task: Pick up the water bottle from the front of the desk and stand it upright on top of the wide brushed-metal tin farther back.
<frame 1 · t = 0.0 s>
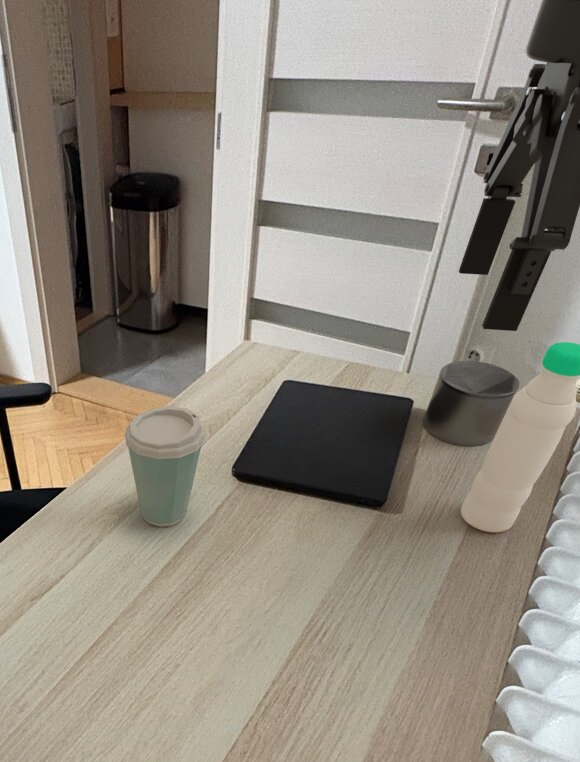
hand: (484, 299, 59), 34 cm above the table, tool pointing down, fingers open, 13 cm apart
water bottle: (484, 519, 89), on the table
disposable coffee cup: (162, 513, 91), on the table
tin: (458, 427, 105), on the table
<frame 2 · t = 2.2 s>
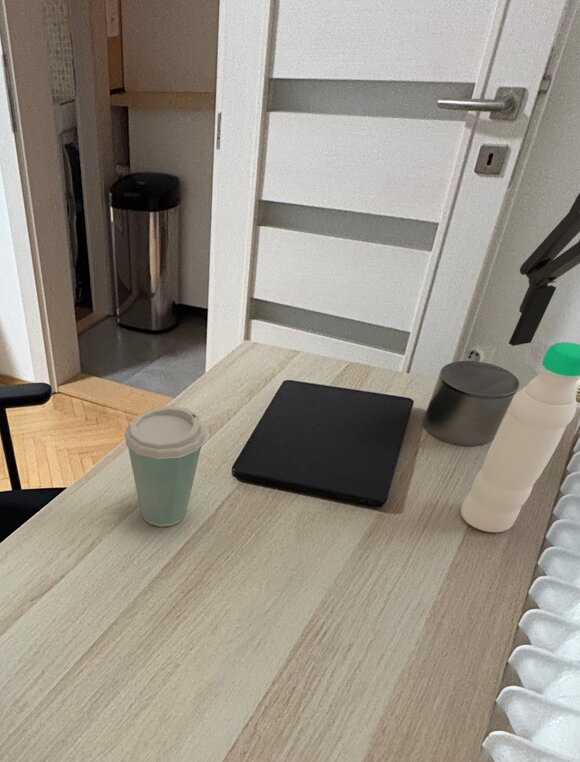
hand: (561, 367, 72), 23 cm above the table, tool pointing down, fingers open, 13 cm apart
nothing on the table moved.
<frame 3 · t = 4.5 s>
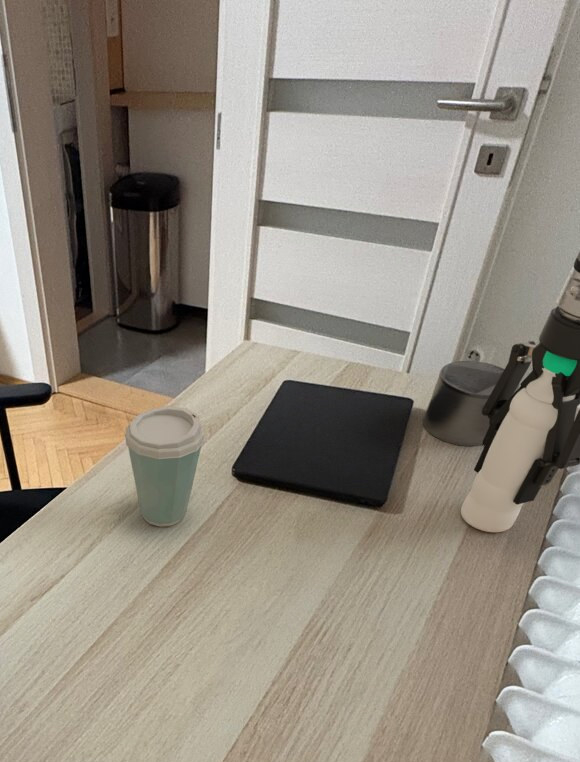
hand: (502, 484, 84), 6 cm above the table, tool pointing down, fingers closed on water bottle, 7 cm apart
water bottle: (484, 519, 89), on the table, touching gripper
everything else where it was.
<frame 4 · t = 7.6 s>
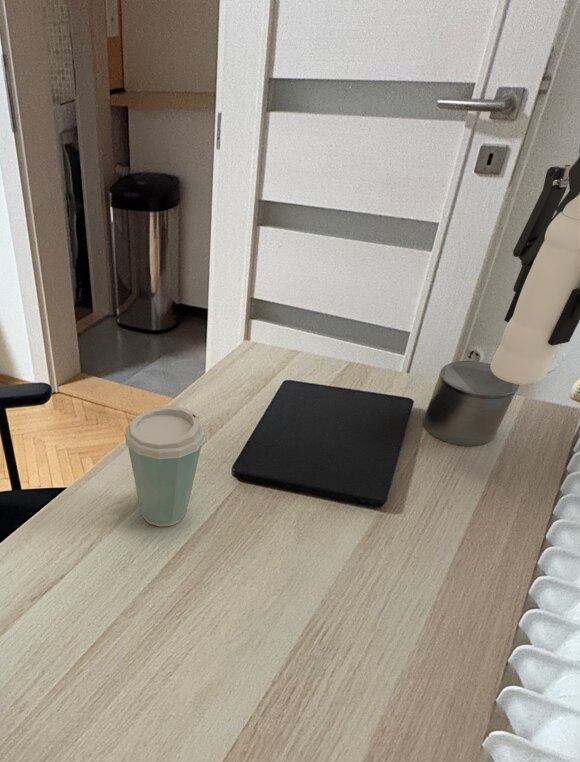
hand: (535, 330, 81), 22 cm above the table, tool pointing down, fingers closed on water bottle, 7 cm apart
water bottle: (515, 375, 86), point 16 cm above the table, touching gripper
everything else where it was.
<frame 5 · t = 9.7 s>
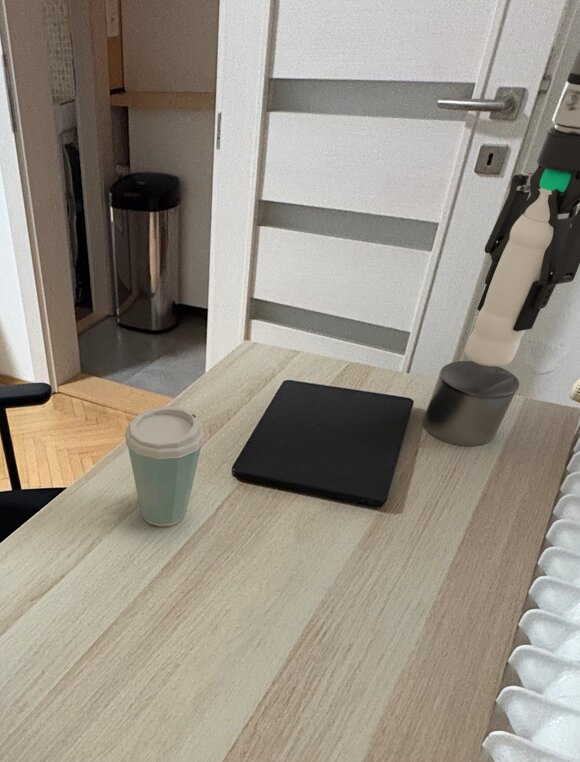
hand: (503, 318, 92), 18 cm above the table, tool pointing down, fingers closed on water bottle, 7 cm apart
water bottle: (486, 359, 97), point 12 cm above the table, touching gripper
everything else where it was.
when the fingers open (15 cm above the table, at t = 11.1 s): water bottle stays where it is, resting on tin.
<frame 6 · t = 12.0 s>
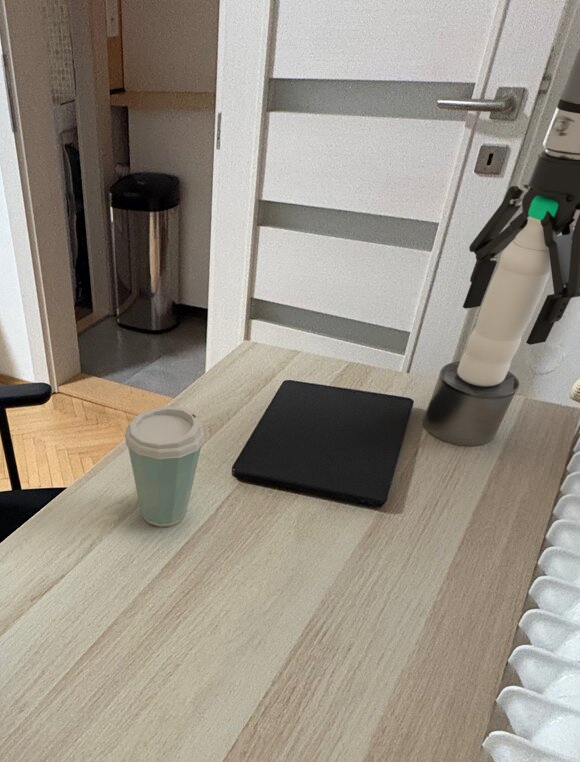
hand: (501, 323, 93), 18 cm above the table, tool pointing down, fingers open, 13 cm apart
water bottle: (478, 378, 99), point 9 cm above the table, touching tin
tin: (458, 427, 105), on the table, touching water bottle
everything else where it was.
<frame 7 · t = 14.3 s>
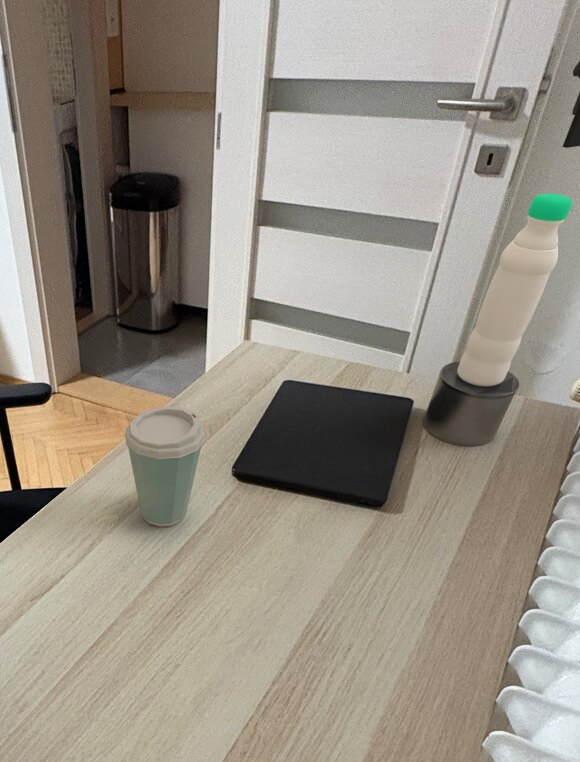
nothing on the table moved.
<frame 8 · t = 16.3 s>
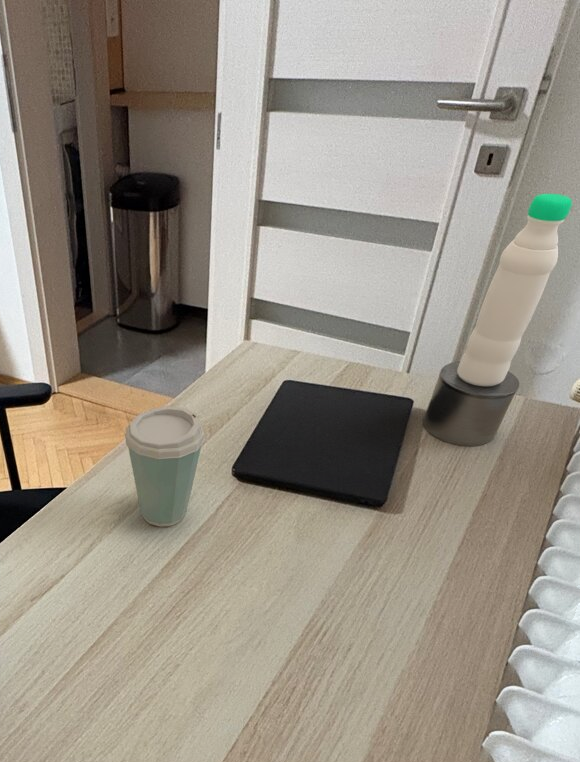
nothing on the table moved.
at the end: water bottle 0.0 cm off-centre on the tin, point 8.8 cm above the tin's base; water bottle tilted 0°; tin touching table, water bottle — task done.
